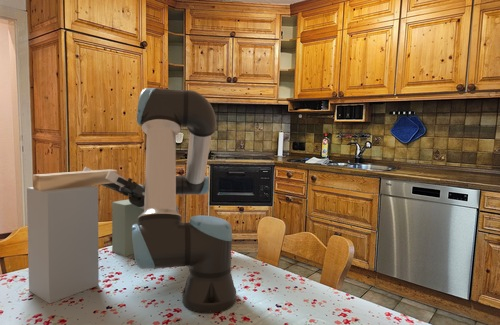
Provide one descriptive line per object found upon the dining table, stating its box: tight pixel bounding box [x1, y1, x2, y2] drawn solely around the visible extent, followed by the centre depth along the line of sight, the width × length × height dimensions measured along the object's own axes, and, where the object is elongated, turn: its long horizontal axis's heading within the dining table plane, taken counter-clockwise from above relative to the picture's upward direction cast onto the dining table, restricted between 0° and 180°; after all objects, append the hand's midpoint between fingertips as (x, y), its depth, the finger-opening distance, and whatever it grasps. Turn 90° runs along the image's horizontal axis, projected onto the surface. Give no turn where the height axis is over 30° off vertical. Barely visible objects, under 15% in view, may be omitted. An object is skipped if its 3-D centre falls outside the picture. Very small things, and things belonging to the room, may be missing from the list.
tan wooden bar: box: [32, 168, 118, 191], centre depth 98 cm, size 4×23×4 cm, turn 146°
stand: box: [26, 185, 100, 304], centre depth 96 cm, size 12×14×30 cm
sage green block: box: [111, 198, 144, 257], centre depth 130 cm, size 8×14×20 cm, turn 146°
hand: (95, 172), depth 103 cm, fingers open, 13 cm apart
